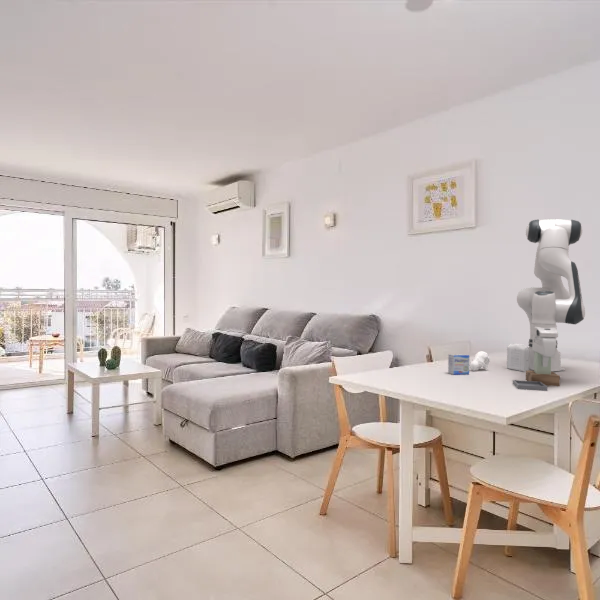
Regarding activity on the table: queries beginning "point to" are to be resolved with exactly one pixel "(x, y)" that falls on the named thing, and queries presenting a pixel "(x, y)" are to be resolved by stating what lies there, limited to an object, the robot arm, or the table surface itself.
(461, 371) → the medicine box
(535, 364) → the plug block
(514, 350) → the white upright block
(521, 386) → the charcoal tray
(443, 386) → the table surface
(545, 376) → the walnut stand
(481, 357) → the white lumpy piece
